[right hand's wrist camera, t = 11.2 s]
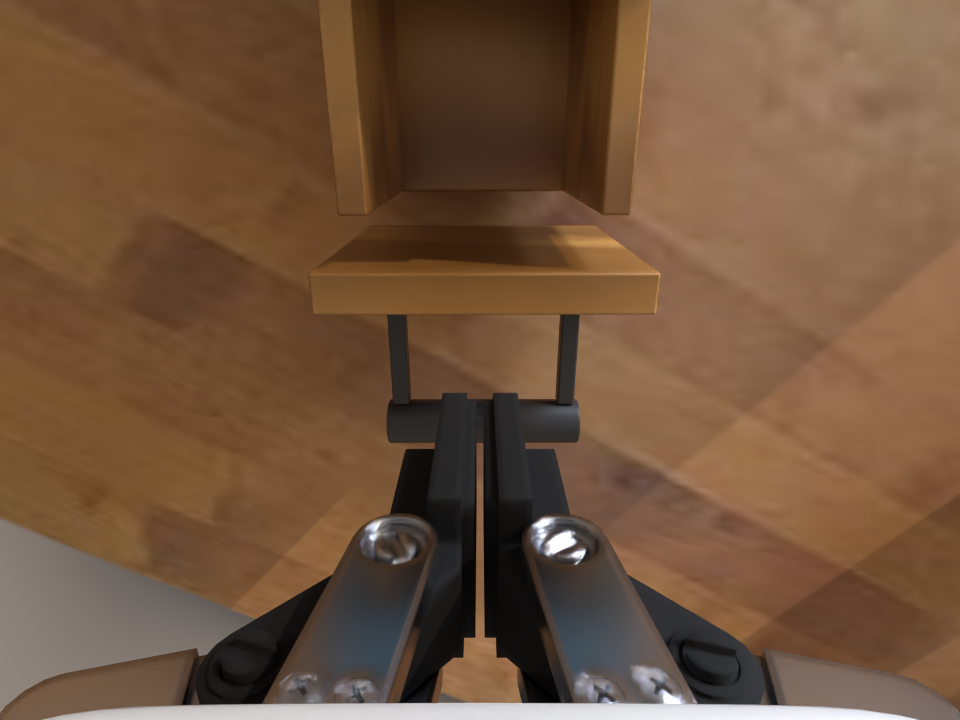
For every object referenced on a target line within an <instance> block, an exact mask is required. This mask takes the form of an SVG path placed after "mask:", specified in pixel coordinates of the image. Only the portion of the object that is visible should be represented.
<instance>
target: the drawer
mask: <svg viewBox="0 0 960 720" xmlns="http://www.w3.org/2000/svg"><path fill="white" fill-rule="evenodd" d="M651 1H652V0H318V9H319V19H320V30H321V41H322V51H323V62H324V72H325V83H326V94H327V104H328V115H329V126H330V136H331V147H332V157H333V168H334V179H335V189H336V200H337V210H338V214H339V215H340V216H365V215H367V214H369V213H370V212H372V211H373V210H375V209H376V208H378V207H379V206H381V205H382V204H384V203H386V202H387V201H389V200H390V199H392V198H393V197H395V196H396V195H398V194H399V193H401V192H402V191H564V192H566V193H567V194H569V195H571V196H572V197H574V198H576V199H577V200H579V201H581V202H582V203H584V204H586V205H587V206H589V207H591V208H592V209H594V210H596V211H597V212H599V213H601V214H602V215H629V214H630V213H631V206H632V196H633V185H634V175H635V165H636V155H637V144H638V134H639V124H640V114H641V103H642V93H643V83H644V73H645V62H646V52H647V42H648V32H649V22H650V11H651ZM308 277H309V286H310V294H311V302H312V311H313V314H315V315H387V317H388V332H389V347H390V362H391V377H392V392H393V399H392V400H390V401H389V404H388V410H387V435H388V440H389V442H391V443H435V442H436V435H437V428H438V421H439V415H440V408H441V401H442V399H411V387H410V368H409V349H408V330H407V315H560V326H559V344H558V363H557V381H556V399H518V401H519V408H520V415H521V421H522V428H523V435H524V442H525V443H576V442H577V441H578V439H579V434H580V411H579V405H578V402H577V400H576V399H574V389H575V374H576V360H577V345H578V331H579V316H580V315H589V314H655V313H656V306H657V298H658V290H659V282H660V273H658V272H657V271H656V270H654V269H653V268H652V267H650V266H649V265H648V264H646V263H645V262H644V261H642V260H641V259H639V258H638V257H637V256H635V255H634V254H633V253H631V252H630V251H629V250H627V249H626V248H625V247H623V246H622V245H620V244H619V243H618V242H616V241H615V240H614V239H612V238H611V237H610V236H608V235H607V234H606V233H604V232H603V231H601V230H600V229H599V228H597V227H596V226H370V227H368V228H367V229H366V230H365V231H363V232H362V233H361V234H359V235H358V236H357V237H356V238H354V239H353V240H352V241H350V242H349V243H348V244H347V245H345V246H344V247H343V248H341V249H340V250H339V251H338V252H336V253H335V254H334V255H332V256H331V257H330V258H329V259H327V260H326V261H325V262H323V263H322V264H321V265H320V266H318V267H317V268H316V269H315V270H313V271H312V272H311V273H309V275H308ZM476 443H484V399H476Z"/></svg>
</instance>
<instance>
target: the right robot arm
mask: <svg viewBox="0 0 960 720" xmlns="http://www.w3.org/2000/svg"><path fill="white" fill-rule="evenodd" d="M475 612H476V399H467V393H443V395H442V401H441V408H440V415H439V421H438V428H437V435H436V442H435V448H434V449H406V451H405V454H404V458H403V462H402V466H401V471H400V475H399V479H398V483H397V487H396V491H395V495H394V500H393V504H392V508H391V512H390V514H389V515H384V516H380V517H378V518H376V519H373V520H371V521H369V522H368V523H366V524H365V525H363V526H362V527H361V528H360V529H359V530H358V531H357V532H356V534H355V535H354V536H353V538H352V540H351V542H350V544H349V545H348V547H347V549H346V551H345V553H344V555H343V556H342V558H341V560H340V562H339V564H338V566H337V567H336V569H335V571H334V573H333V575H331V576H329V577H327V578H326V579H324V580H322V581H321V582H319V583H317V584H315V585H314V586H312V587H310V588H309V589H307V590H305V591H303V592H302V593H300V594H298V595H297V596H295V597H293V598H292V599H290V600H288V601H286V602H285V603H283V604H281V605H280V606H278V607H276V608H274V609H273V610H271V611H269V612H268V613H266V614H264V615H263V616H261V617H259V618H257V619H256V620H254V621H252V622H251V623H249V624H247V625H245V626H244V627H242V628H240V629H239V630H237V631H235V632H233V633H232V634H230V635H229V636H227V637H226V638H225V639H223V640H222V641H221V642H219V643H218V644H216V645H215V647H214V648H213V649H212V650H211V651H210V652H209V653H208V654H207V655H204V656H199V655H198V651H197V648H196V649H190V650H185V651H180V652H174V653H169V654H164V655H159V656H153V657H148V658H143V659H138V660H132V661H127V662H122V663H117V664H112V665H106V666H101V667H96V668H90V669H85V670H80V671H75V672H69V673H64V674H61V675H58V676H55V677H52V678H49V679H45V680H43V681H42V682H40V683H38V684H36V685H34V686H32V687H31V688H29V689H27V690H25V691H24V692H23V693H21V694H20V695H19V696H18V697H17V698H15V699H14V700H13V701H12V702H10V703H9V704H8V705H7V706H6V707H5V708H4V709H3V710H2V712H1V713H0V720H960V713H959V712H958V710H957V709H956V708H955V707H954V706H953V705H952V704H951V703H950V702H948V701H947V700H946V699H945V698H944V697H942V696H941V695H940V694H939V693H938V692H936V691H935V690H933V689H931V688H929V687H928V686H926V685H924V684H922V683H920V682H918V681H917V680H915V679H911V678H908V677H905V676H902V675H899V674H896V673H891V672H886V671H880V670H875V669H870V668H864V667H859V666H854V665H849V664H843V663H838V662H833V661H828V660H822V659H817V658H812V657H807V656H801V655H796V654H791V653H786V652H780V651H775V650H770V649H764V648H763V651H762V655H761V656H756V655H753V654H752V653H751V652H750V651H749V650H748V649H747V648H746V646H745V645H744V644H742V643H741V642H740V641H738V640H737V639H735V638H734V637H733V636H731V635H730V634H728V633H727V632H725V631H723V630H721V629H720V628H718V627H716V626H715V625H713V624H711V623H709V622H708V621H706V620H704V619H703V618H701V617H699V616H697V615H696V614H694V613H692V612H691V611H689V610H687V609H686V608H684V607H682V606H680V605H679V604H677V603H675V602H674V601H672V600H670V599H668V598H667V597H665V596H663V595H662V594H660V593H658V592H656V591H655V590H653V589H651V588H650V587H648V586H646V585H645V584H643V583H641V582H639V581H638V580H636V579H634V578H633V577H631V576H629V575H627V573H626V571H625V569H624V567H623V566H622V564H621V562H620V560H619V558H618V556H617V555H616V553H615V551H614V549H613V547H612V545H611V544H610V542H609V540H608V538H607V536H606V535H605V534H604V532H603V531H602V530H601V529H600V528H599V527H598V526H597V525H595V524H594V523H592V522H591V521H589V520H587V519H584V518H582V517H580V516H576V515H571V514H570V512H569V508H568V504H567V500H566V495H565V491H564V487H563V483H562V479H561V475H560V471H559V466H558V462H557V458H556V454H555V451H554V449H526V448H525V442H524V435H523V428H522V421H521V415H520V408H519V401H518V395H517V393H493V399H484V613H485V638H496V652H497V658H508V659H509V660H510V661H511V662H512V663H514V664H515V665H516V666H517V679H518V687H519V692H520V696H521V700H522V703H438V700H439V696H440V692H441V687H442V679H443V666H444V665H445V664H446V663H448V662H449V661H450V660H451V659H452V658H463V652H464V638H475Z"/></svg>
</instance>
